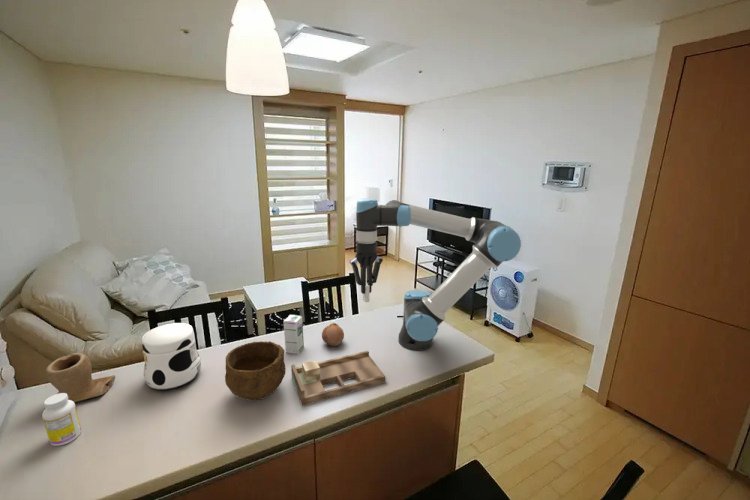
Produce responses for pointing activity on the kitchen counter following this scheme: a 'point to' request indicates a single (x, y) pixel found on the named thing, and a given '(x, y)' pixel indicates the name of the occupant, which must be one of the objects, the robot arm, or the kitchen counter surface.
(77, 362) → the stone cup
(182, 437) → the kitchen counter surface
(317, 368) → the maple block
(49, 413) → the supplement bottle
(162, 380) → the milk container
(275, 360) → the bowl
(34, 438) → the kitchen counter surface
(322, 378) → the board
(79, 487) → the kitchen counter surface
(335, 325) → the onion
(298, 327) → the syrup box
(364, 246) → the robot arm
